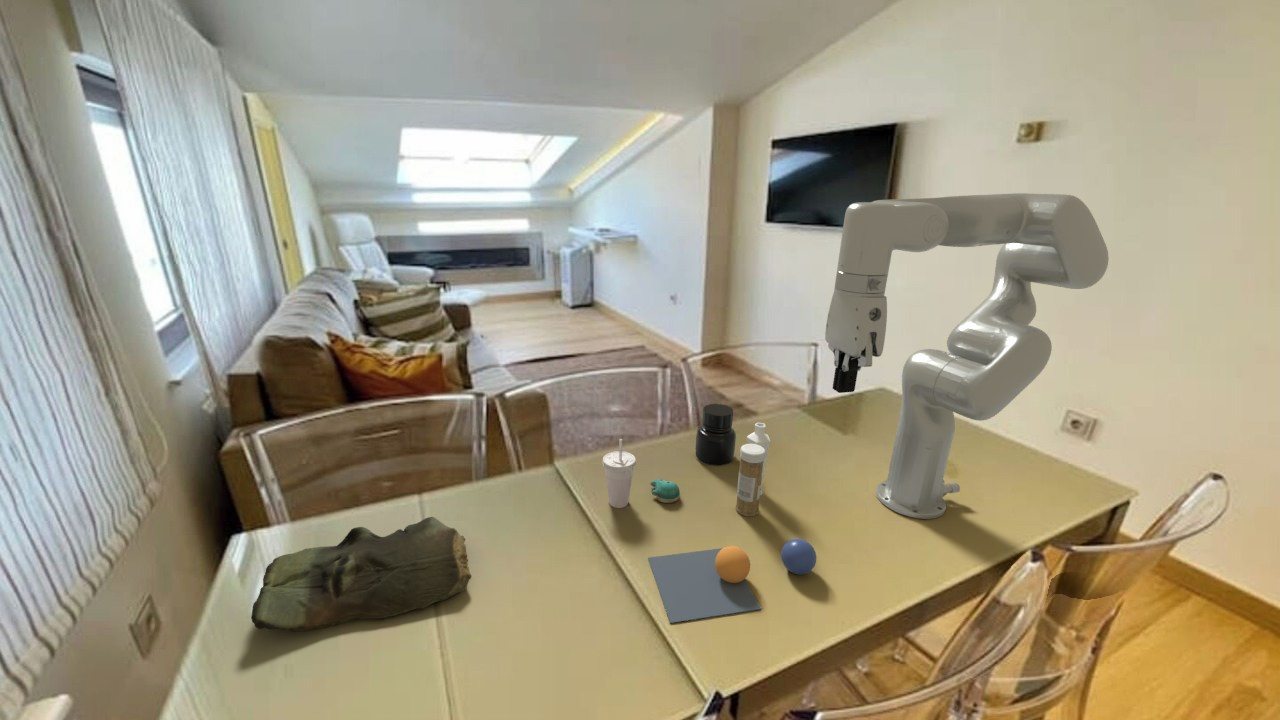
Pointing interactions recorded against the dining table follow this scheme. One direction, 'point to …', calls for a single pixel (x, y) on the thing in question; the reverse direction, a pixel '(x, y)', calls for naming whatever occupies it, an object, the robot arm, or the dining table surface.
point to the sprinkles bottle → (750, 479)
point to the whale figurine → (665, 491)
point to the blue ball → (798, 556)
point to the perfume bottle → (760, 442)
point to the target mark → (698, 587)
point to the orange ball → (732, 564)
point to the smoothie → (619, 476)
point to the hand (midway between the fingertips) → (843, 390)
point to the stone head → (363, 577)
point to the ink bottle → (716, 435)
